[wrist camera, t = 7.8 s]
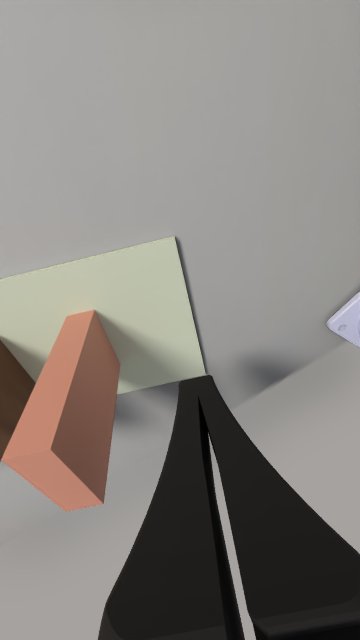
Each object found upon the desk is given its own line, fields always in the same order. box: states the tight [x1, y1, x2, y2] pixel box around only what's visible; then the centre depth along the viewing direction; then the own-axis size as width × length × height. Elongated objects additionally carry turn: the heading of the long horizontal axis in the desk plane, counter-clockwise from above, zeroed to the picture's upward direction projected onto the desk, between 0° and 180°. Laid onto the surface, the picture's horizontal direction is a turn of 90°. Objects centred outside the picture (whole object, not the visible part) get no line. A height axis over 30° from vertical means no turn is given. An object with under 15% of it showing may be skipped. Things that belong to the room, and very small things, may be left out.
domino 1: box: [1, 310, 121, 511], centre depth 13 cm, size 2×4×8 cm, turn 12°
